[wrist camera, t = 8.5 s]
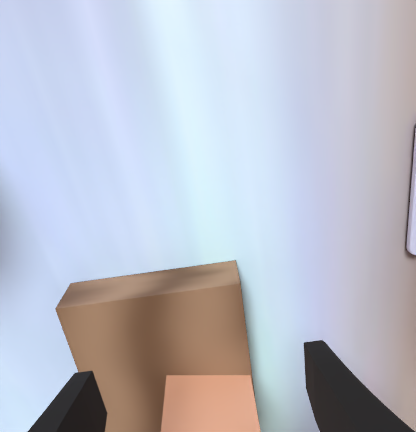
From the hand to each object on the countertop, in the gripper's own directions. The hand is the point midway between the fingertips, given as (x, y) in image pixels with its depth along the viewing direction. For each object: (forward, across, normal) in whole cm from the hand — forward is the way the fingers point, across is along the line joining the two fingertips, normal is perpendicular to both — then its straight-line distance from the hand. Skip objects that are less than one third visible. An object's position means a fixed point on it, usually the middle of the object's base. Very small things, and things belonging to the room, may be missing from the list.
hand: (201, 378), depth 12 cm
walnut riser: (+9, +3, +8) cm, 13 cm away
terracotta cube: (+7, +1, +10) cm, 12 cm away
